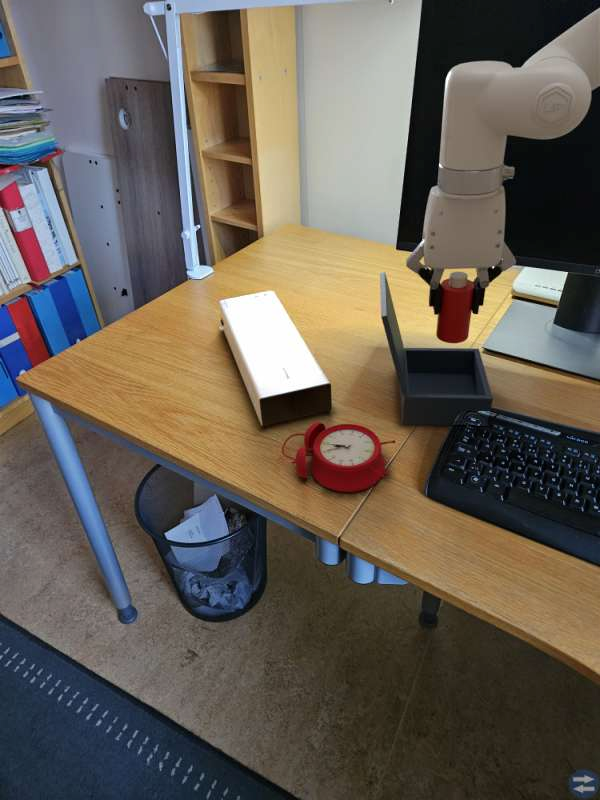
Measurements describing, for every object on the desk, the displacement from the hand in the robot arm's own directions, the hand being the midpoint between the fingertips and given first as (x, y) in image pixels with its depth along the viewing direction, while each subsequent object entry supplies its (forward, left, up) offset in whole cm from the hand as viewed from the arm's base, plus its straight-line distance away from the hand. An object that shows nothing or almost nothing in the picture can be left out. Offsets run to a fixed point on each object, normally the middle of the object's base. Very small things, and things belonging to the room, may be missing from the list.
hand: (454, 308), depth 80 cm
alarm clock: (+16, +16, -16) cm, 28 cm away
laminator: (+30, -8, -16) cm, 35 cm away
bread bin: (0, 0, -16) cm, 16 cm away
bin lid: (+8, 0, -4) cm, 9 cm away
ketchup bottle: (0, 0, -4) cm, 4 cm away
